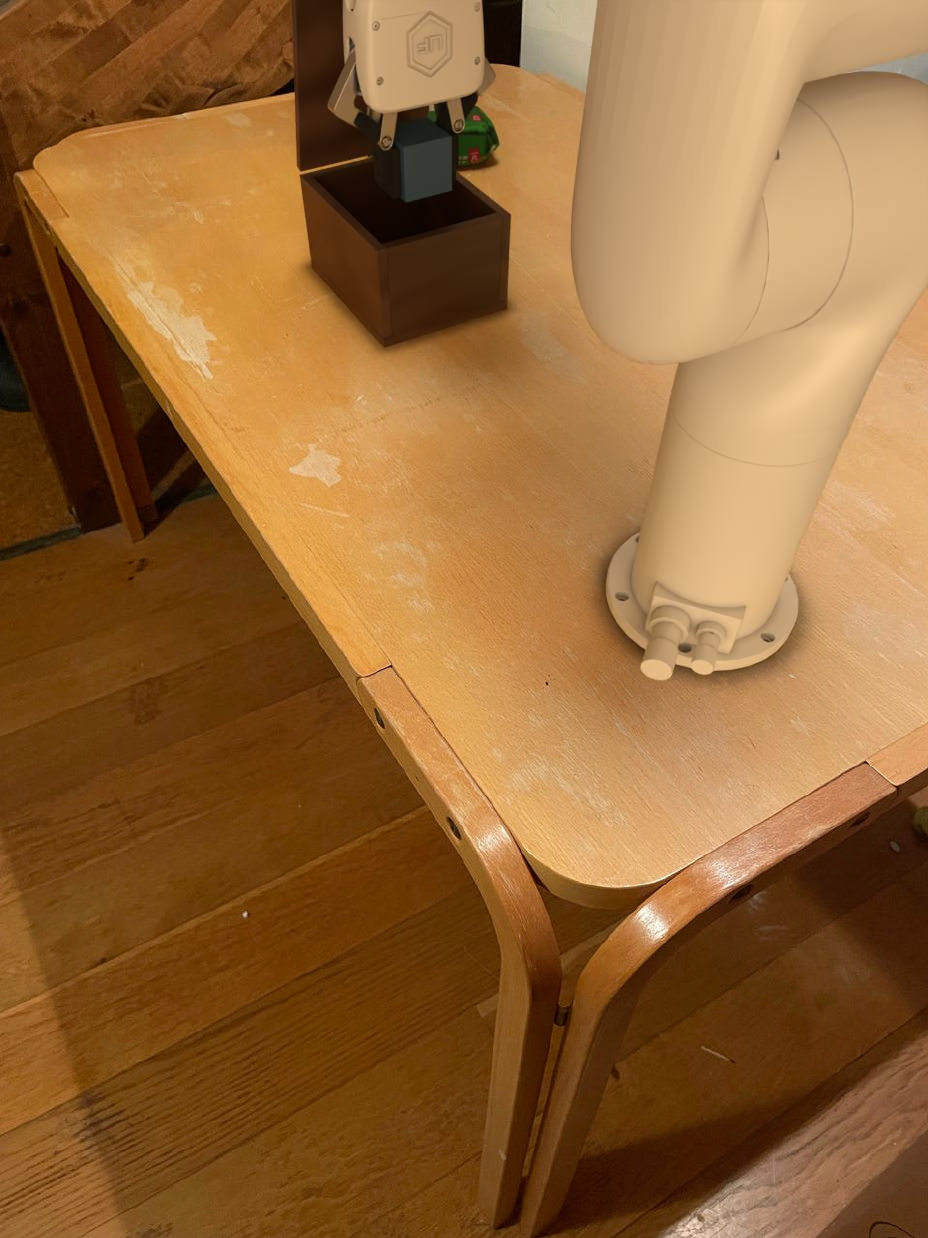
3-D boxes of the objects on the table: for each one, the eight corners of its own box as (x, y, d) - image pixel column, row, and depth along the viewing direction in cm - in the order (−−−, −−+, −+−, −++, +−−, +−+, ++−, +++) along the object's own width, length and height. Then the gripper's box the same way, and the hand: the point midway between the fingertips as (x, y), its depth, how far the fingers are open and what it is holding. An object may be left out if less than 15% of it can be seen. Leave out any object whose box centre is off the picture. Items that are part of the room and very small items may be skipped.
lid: (446, -52, 70) (413, -92, 71) (294, -28, 65) (263, -71, 67) (425, 141, 84) (398, 104, 86) (300, 171, 80) (274, 132, 82)
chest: (507, 308, 83) (511, 213, 76) (384, 347, 79) (376, 251, 72) (426, 235, 92) (423, 144, 85) (311, 266, 88) (299, 174, 81)
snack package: (360, 153, 104) (356, 105, 100) (491, 141, 106) (492, 93, 102) (369, 181, 99) (365, 132, 95) (505, 168, 102) (507, 119, 97)
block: (452, 190, 75) (452, 135, 72) (406, 202, 74) (403, 147, 70) (427, 170, 77) (426, 115, 74) (382, 181, 76) (378, 126, 73)
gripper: (317, -53, 56) (345, 228, 71) (540, -87, 62) (525, 180, 76) (272, -82, 61) (307, 189, 75) (485, -111, 66) (480, 146, 80)
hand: (417, 182), depth 75 cm, fingers closed on block, 4 cm apart
